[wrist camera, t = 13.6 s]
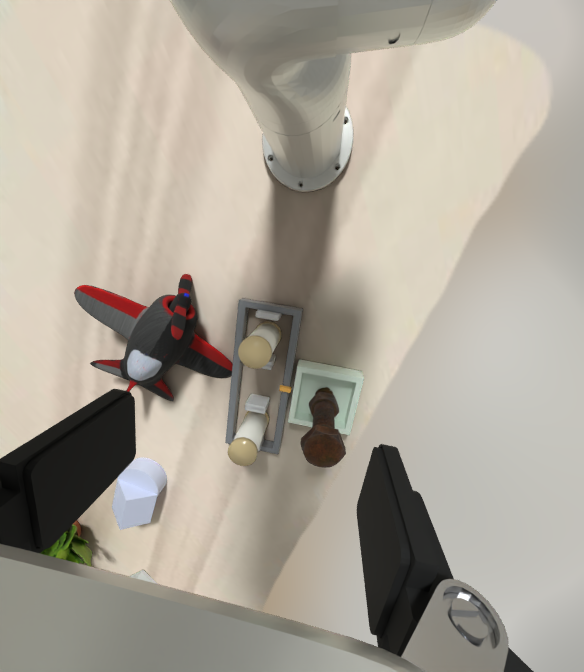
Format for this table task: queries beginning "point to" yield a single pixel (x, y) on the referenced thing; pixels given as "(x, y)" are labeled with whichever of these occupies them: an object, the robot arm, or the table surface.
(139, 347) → the toy airplane
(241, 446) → the fuse outer
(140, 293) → the table surface
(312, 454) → the bolt
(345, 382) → the tray
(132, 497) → the wedge on round base
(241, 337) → the block
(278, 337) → the ball
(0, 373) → the table surface
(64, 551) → the potted flower
